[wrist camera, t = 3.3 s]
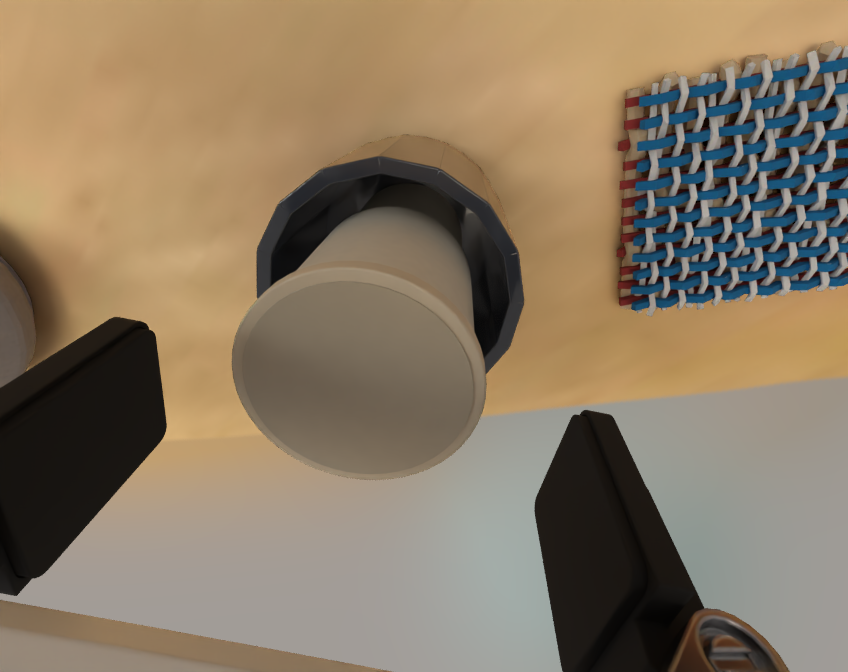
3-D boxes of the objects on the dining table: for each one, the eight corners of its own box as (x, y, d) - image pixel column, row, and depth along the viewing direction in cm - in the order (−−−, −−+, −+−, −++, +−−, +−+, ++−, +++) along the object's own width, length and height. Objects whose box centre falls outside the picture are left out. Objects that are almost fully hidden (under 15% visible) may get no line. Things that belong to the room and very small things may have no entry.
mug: (327, 116, 20) (255, 130, 13) (525, 157, 20) (560, 193, 13) (311, 347, 26) (256, 443, 19) (464, 376, 26) (465, 482, 19)
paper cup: (341, 282, 23) (233, 459, 12) (353, 158, 20) (225, 242, 9) (456, 305, 23) (455, 500, 12) (486, 186, 20) (519, 300, 9)
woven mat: (613, 81, 18) (630, 80, 17) (906, 23, 17) (959, 16, 15) (608, 308, 23) (621, 325, 21) (835, 279, 22) (869, 296, 20)
